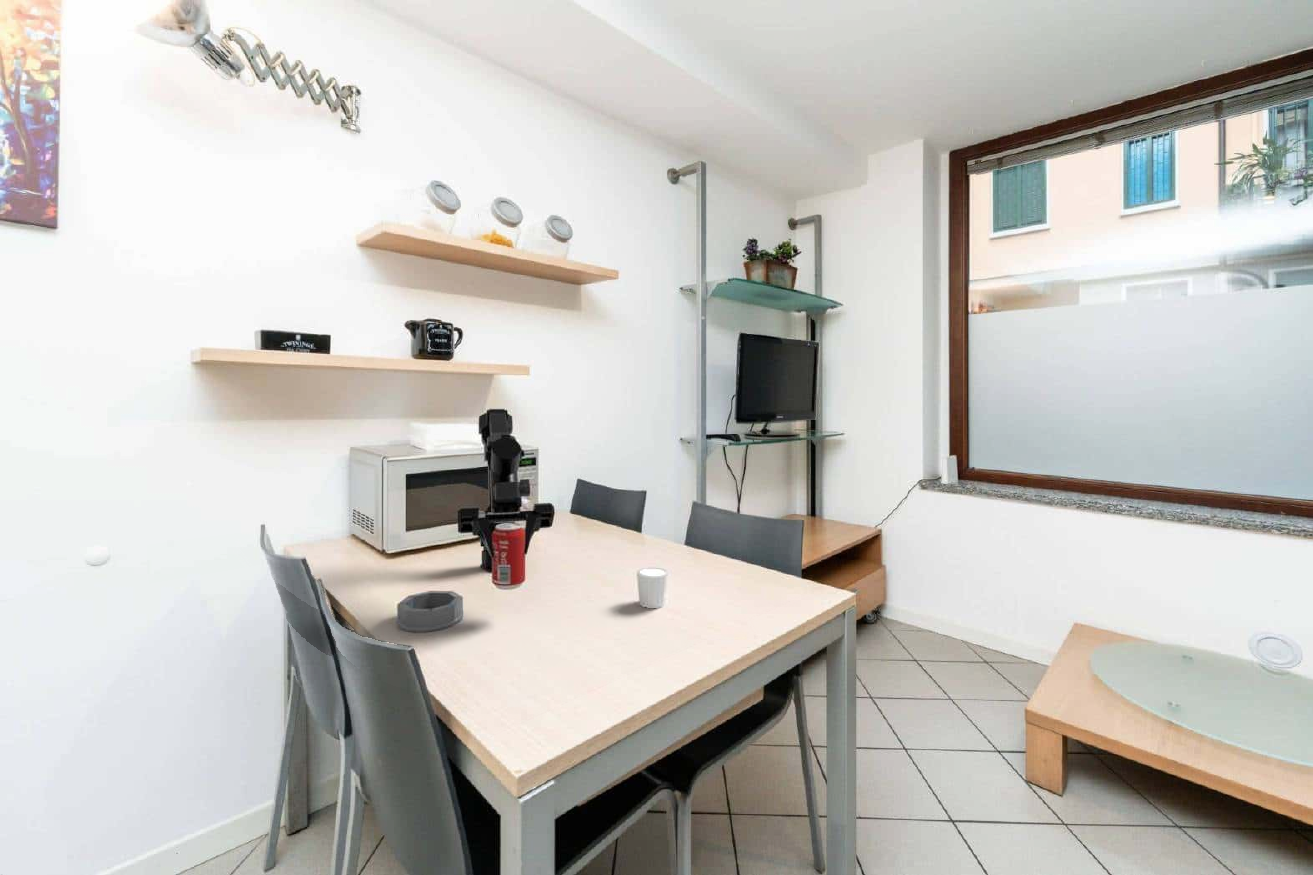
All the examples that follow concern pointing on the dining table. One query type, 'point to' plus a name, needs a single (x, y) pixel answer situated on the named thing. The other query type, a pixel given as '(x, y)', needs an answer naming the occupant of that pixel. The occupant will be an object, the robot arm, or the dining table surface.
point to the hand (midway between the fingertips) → (509, 554)
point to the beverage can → (508, 556)
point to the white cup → (652, 587)
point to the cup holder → (430, 611)
